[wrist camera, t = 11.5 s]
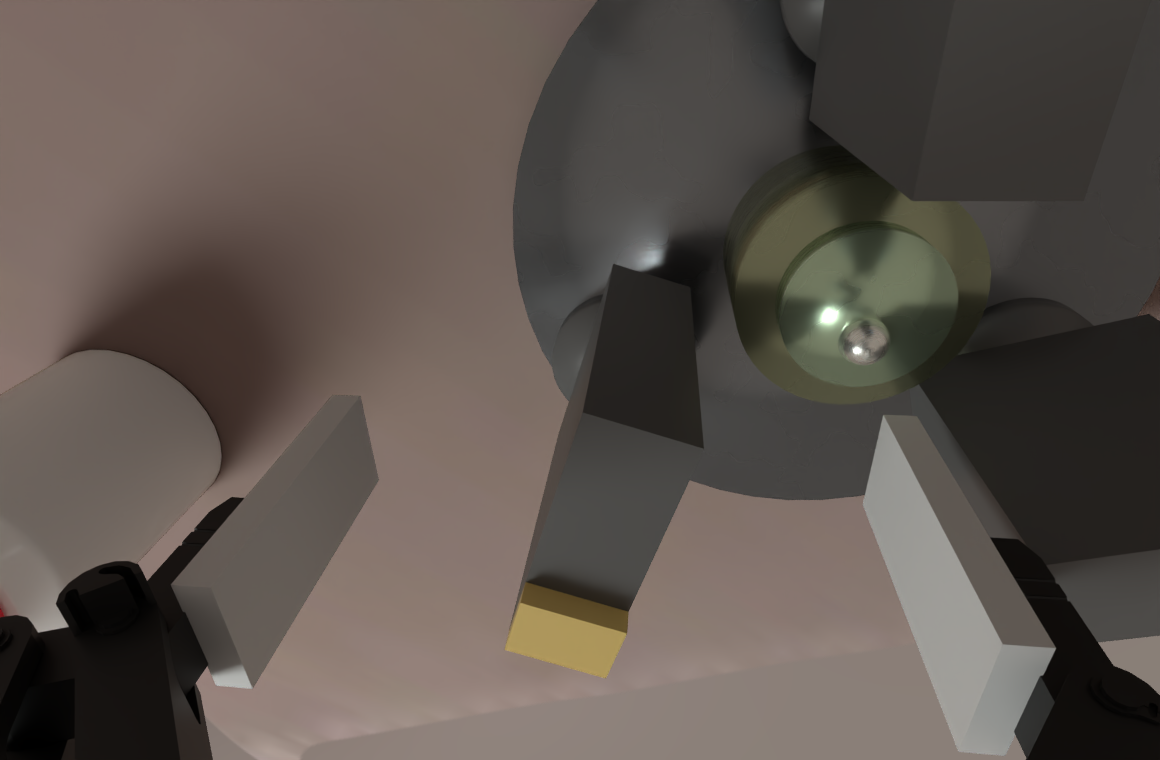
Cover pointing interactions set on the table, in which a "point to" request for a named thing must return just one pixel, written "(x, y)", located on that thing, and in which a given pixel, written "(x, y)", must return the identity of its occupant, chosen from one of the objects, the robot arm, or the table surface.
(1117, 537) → the leg
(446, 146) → the table surface
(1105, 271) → the plate
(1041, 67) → the knob
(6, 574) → the pill bottle
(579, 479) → the knob
